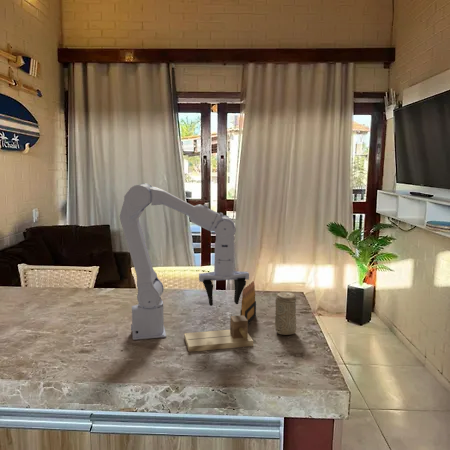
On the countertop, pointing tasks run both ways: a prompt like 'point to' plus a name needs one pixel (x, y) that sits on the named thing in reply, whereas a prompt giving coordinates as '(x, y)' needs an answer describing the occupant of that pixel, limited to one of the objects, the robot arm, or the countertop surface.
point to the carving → (285, 313)
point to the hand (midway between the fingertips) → (223, 303)
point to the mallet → (238, 326)
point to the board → (214, 340)
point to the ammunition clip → (248, 302)
